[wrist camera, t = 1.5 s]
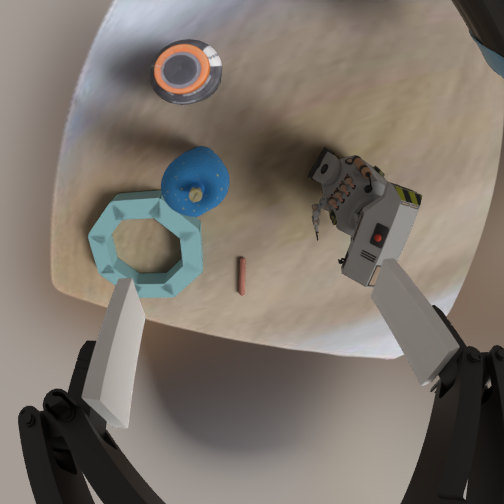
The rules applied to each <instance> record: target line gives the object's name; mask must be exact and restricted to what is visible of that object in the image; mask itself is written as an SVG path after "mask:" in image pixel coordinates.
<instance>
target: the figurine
mask: <svg viewBox="0 0 504 504" xmlns="http://www.w3.org/2000/svg"><path fill="white" fill-rule="evenodd" d="M334 155H335V154H334V153H333V152H332V151H330V150H328V149H327V148H324V149H323V151H322V152H321V154H320V156H319V157H318V160H317V161H316V163H315V165H314V166H313V168H312V170H311V171H310V173H309V175H308V177H309V178H311V179H313V180H315V181H317V182H319V183H321V186H322V191H323V196H324V197H322V198H321V200H320V202H319V204H314V205H312V209H313V216H314V217H313V216H312V221H313V225H314V226H315V231H316V236H317V240H318V235H317V233H319V232H318V225H319V218H318V216H319V215H320V210H321V209H322V208H323V209H325V210H327V211H329V213H330V219H331V220H332V223H333V225H336V227H337V228H338V230H340V231H343V232H345V233H347V234H349V235H351V243H350V246H349V248H348V251H347V254H346V256H345V259H344V258H341V260H339V259H338V261H339V264H342V263H343V264H342V266H341V270H342V274H344V275H345V276H347V277H349V278H351V279H353V280H354V281H356V282H358V283H360V284H361V285H363V286H365V287H374V286H375V283H376V280H377V277H378V274H379V271H380V268H381V265H382V262H383V259H391V258H394V259H395V260H396V261H398V259H399V257H400V255H401V252H402V250H403V248H404V245H405V243H406V241H407V238H408V236H409V234H410V231H411V229H412V226H413V223H414V221H415V218H416V215H417V213H418V210H419V207H420V204H421V199H422V195H421V194H419V193H417V192H415V191H413V190H410V189H408V188H405V187H402V186H399V185H396V184H393V183H390V182H388V181H387V180H386V179H385V178H384V177H383V176H384V175H385V174H384V173H383V172H382V171H381V170H380V169H379V168H378V167H377V166H375V167H372V166H371V165H369V164H368V163H366V162H365V161H364V160H362V159H361V158H360V157H359V156H356V155H354V156H350V157H345V158H341V159H339V160H338V158H337V157H335V156H334ZM342 260H344V261H342Z"/></svg>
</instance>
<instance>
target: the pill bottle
mask: <svg viewBox="0 0 504 504" xmlns="http://www.w3.org/2000/svg"><path fill="white" fill-rule="evenodd" d="M221 75H222V65H221V60H220V58H219V56H218V54H217V53H216V51H215V50H214V49H213V48H212V47H210V46H209V45H208V44H206V43H204V42H201V41H198V40H190V39H188V40H180V41H177V42H174V43H171V44H170V45H168V46H166V47H165V48H163V49H162V50H161V51H160V52H159V53H158V54H157V56H156V57H155V59H154V61H153V63H152V65H151V69H150V80H151V84H152V87H153V89H154V90H155V92H156V93H157V94H158V95H159V96H160V97H161V98H162V99H164V100H166V101H168V102H171V103H174V104H180V105H184V104H192V103H196V102H199V101H202V100H204V99H206V98H208V97H210V96H211V95H212V94H213V93H214V92H215V91H216V90H217V88H218V86H219V84H220V82H221Z"/></svg>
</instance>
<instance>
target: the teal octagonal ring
mask: <svg viewBox="0 0 504 504" xmlns="http://www.w3.org/2000/svg"><path fill="white" fill-rule="evenodd" d="M144 218H155V219H156V220H157V221H158V222H160V223H161V224H162V225H163V226H165V227H166V228H167V229H168V230H170V231H171V232H172V233H174V234H175V235H176V236H177V237H179V238H180V243H181V252H182V258H181V259H180V260H179V261H178V262H177V263H176V264H175V265H174V266H173V267H172V268H171V269H170V270H169V271H168V272H167V273H139V272H137V271H136V270H134V269H133V268H132V267H130V266H129V265H127V264H126V263H125V262H123V261H122V260H120V259H119V258H118V257H117V253H116V249H115V245H114V241H113V237H112V232H113V231H114V230H115V228H116V227H117V226H118V224H119V223H120V222H121V220H127V219H144ZM88 239H89V242H90V246H91V249H92V253H93V256H94V259H95V263H96V266H97V269H98V272H99V274H100V275H101V276H103V277H104V278H105V279H107V280H108V281H110V282H111V283H113V284H114V285H116V284H117V281H118V279H120V278H132V279H133V282H134V285H135V288H136V291H137V294H138V297H139V298H154V297H175V296H176V295H177V294H178V293H180V292H181V291H182V290H183V289H184V288H185V287H186V286H187V285H188V284H190V283H191V282H192V281H193V280H194V279H195V278H196V277H197V276H199V275H200V274H201V273H202V271H203V252H202V237H201V222H200V220H199V219H198V218H197V217H190V216H185V215H182V214H179V213H177V212H175V211H174V210H172V209H171V208H170V207H169V206H168V205H167V203H166V202H165V200H164V198H163V195H162V192H161V190H158V191H144V192H131V193H119V194H116V196H115V197H114V198H113V199H112V201H111V202H110V203H109V205H108V206H107V207H106V209H105V210H104V212H103V213H102V215H101V216H100V218H99V219H98V221H97V222H96V224H95V225H94V227H93V228H92V230H91V231H90V233H89V234H88Z"/></svg>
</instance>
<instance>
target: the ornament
mask: <svg viewBox="0 0 504 504" xmlns="http://www.w3.org/2000/svg"><path fill="white" fill-rule="evenodd" d="M228 188H229V174H228V171H227V169H226V167H225V165H224V164H223V162H222V161H221V159H220V158H219V157H218V156H217V155H216V154H215V153H214V152H213V151H212V150H211V149H210V148H208V147H205V146H199V147H195V148H193V149H192V150H189V151H187V152H185V153H183V154H182V155H180V156H179V157H178V158H176V159H175V160H174V161H173V162H172V163H171V164H170V165H169V166H168V167H167V169H166V171H165V173H164V175H163V178H162V182H161V192H162V195H163V198H164V200H165V202H166V203H167V205H168V206H169V207H170V208H171V209H172V210H174V211H175V212H177V213H179V214H182V215H185V216H190V217H197V216H200V215H202V214H203V213H205V212H207V211H209V210H210V209H212V208H214V207H216V206H217V205H219V204H220V203H221V201H222V200H223V199H224V198H225V196H226V194H227V192H228Z"/></svg>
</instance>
